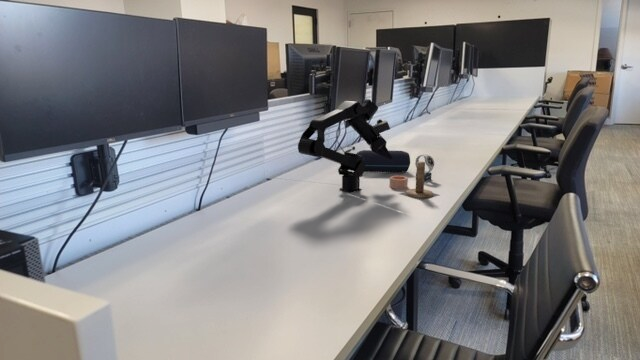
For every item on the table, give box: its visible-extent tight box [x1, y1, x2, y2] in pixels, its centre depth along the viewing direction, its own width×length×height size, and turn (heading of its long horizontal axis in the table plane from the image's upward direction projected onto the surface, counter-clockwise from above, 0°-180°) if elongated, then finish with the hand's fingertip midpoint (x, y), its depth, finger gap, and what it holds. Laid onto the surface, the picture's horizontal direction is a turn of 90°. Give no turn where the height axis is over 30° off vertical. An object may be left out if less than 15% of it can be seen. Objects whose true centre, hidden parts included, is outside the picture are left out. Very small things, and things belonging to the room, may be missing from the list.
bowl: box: [388, 175, 409, 190], centre depth 182 cm, size 7×7×4 cm
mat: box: [398, 191, 440, 202], centre depth 172 cm, size 11×11×1 cm
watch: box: [414, 153, 435, 182], centre depth 192 cm, size 6×8×11 cm
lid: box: [405, 161, 434, 199], centre depth 170 cm, size 10×10×12 cm
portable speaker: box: [356, 149, 411, 173], centre depth 207 cm, size 25×10×10 cm, turn 84°
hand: (389, 156), depth 178 cm, fingers open, 9 cm apart
